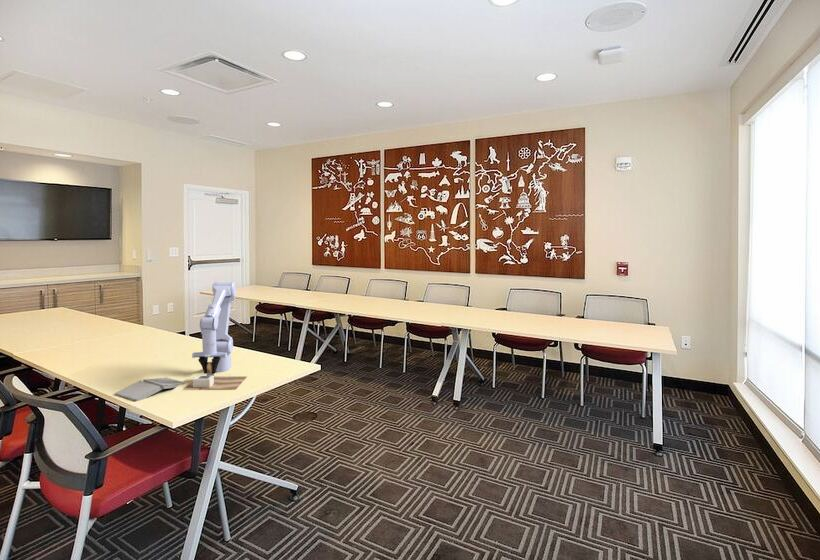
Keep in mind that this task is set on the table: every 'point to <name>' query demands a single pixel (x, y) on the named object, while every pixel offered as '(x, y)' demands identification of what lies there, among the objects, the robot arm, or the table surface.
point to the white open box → (203, 381)
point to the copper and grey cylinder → (209, 369)
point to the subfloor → (221, 383)
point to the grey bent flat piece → (147, 388)
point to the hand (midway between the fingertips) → (210, 373)
